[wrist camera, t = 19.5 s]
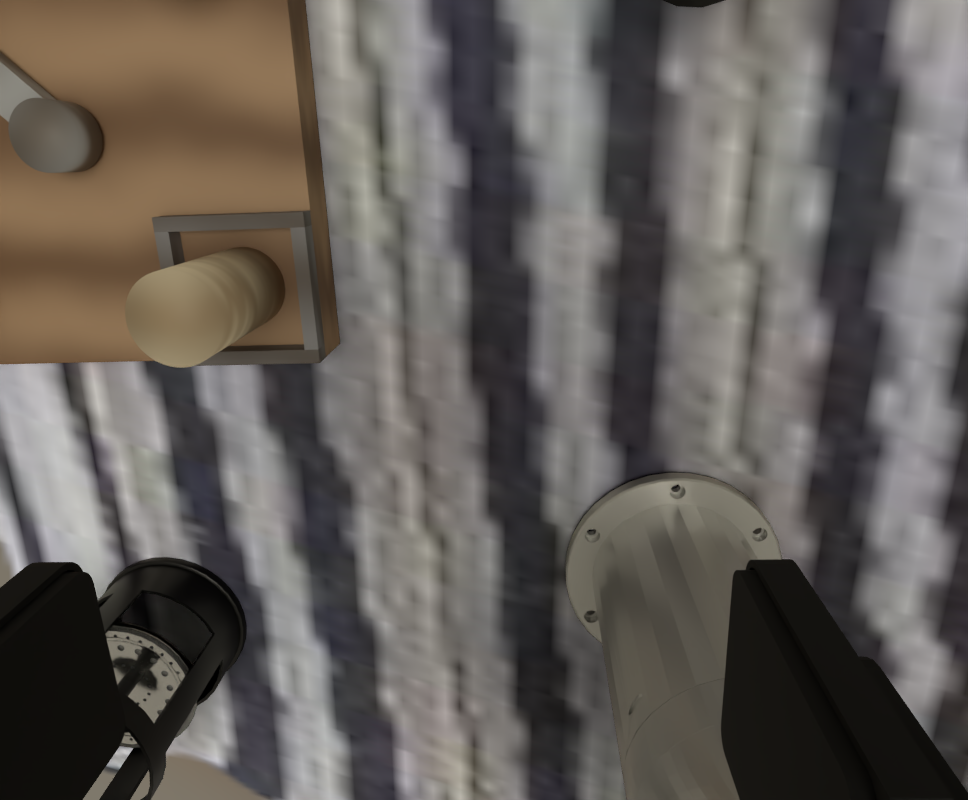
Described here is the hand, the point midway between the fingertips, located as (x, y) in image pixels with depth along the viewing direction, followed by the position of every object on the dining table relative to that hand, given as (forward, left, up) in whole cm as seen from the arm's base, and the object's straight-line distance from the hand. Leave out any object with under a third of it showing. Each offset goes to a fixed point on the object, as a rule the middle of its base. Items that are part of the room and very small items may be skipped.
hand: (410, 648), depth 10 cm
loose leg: (+1, +13, -27) cm, 30 cm away
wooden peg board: (+8, +20, -30) cm, 37 cm away
